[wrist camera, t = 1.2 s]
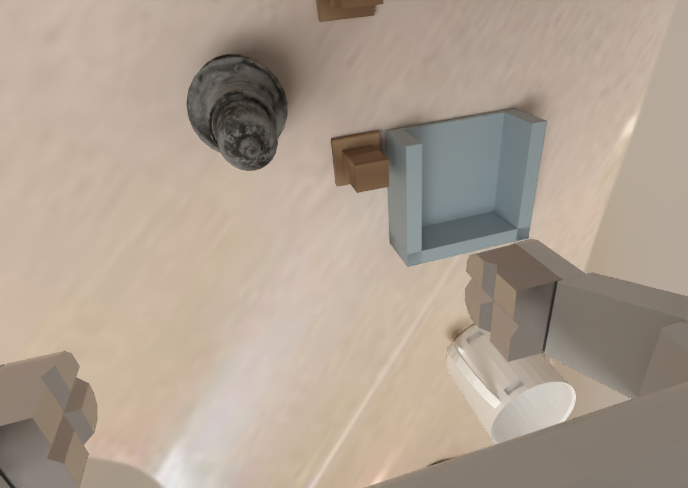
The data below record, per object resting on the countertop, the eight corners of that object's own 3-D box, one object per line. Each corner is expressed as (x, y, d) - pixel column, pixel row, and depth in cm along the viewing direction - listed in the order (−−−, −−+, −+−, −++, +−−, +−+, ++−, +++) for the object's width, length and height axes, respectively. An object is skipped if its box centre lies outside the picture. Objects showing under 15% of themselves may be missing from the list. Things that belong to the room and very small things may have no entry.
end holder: (385, 130, 33) (406, 146, 30) (514, 108, 35) (546, 121, 32) (389, 242, 38) (407, 266, 35) (501, 217, 40) (528, 238, 37)
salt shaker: (256, 34, 28) (286, 59, 18) (292, 120, 31) (335, 183, 21) (170, 70, 27) (151, 118, 17) (215, 153, 31) (221, 234, 21)
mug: (530, 339, 51) (589, 402, 43) (471, 389, 52) (518, 458, 45) (478, 290, 44) (536, 354, 37) (413, 348, 46) (456, 421, 38)
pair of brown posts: (311, -46, 26) (327, -51, 23) (368, -51, 27) (391, -56, 24) (335, 183, 34) (349, 204, 31) (379, 175, 35) (397, 195, 32)
